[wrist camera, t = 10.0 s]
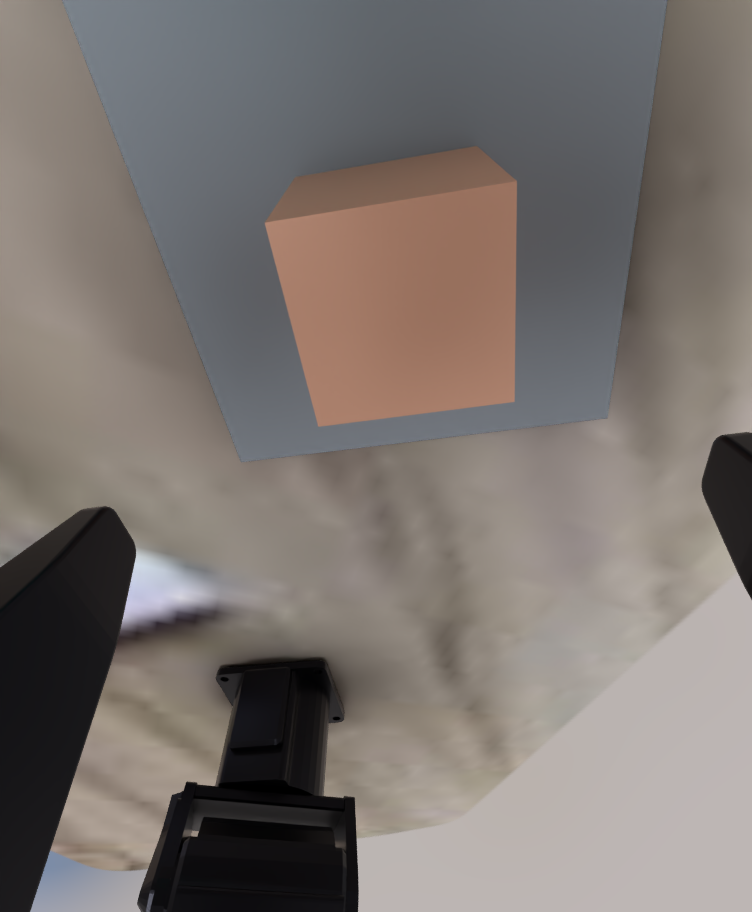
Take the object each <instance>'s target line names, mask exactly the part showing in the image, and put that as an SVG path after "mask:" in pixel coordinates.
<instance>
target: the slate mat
mask: <svg viewBox="0 0 752 912" xmlns="http://www.w3.org/2000/svg"><path fill="white" fill-rule="evenodd" d="M62 1H63V4H64V6H65V9H66V12H67V14H68V17H69V19H70V22H71V25H72V27H73V30H74V32H75V35H76V37H77V40H78V43H79V45H80V48H81V50H82V53H83V56H84V58H85V61H86V63H87V66H88V68H89V71H90V74H91V76H92V79H93V81H94V84H95V86H96V89H97V92H98V94H99V97H100V99H101V102H102V105H103V107H104V110H105V112H106V115H107V117H108V120H109V123H110V125H111V128H112V130H113V133H114V136H115V138H116V141H117V143H118V146H119V148H120V151H121V154H122V156H123V159H124V161H125V164H126V166H127V169H128V172H129V174H130V177H131V179H132V182H133V185H134V187H135V190H136V192H137V195H138V197H139V200H140V203H141V205H142V208H143V210H144V213H145V216H146V218H147V221H148V223H149V226H150V228H151V231H152V234H153V236H154V239H155V241H156V244H157V247H158V249H159V252H160V254H161V257H162V259H163V262H164V265H165V267H166V270H167V272H168V275H169V277H170V280H171V283H172V285H173V288H174V290H175V293H176V296H177V298H178V301H179V303H180V306H181V308H182V311H183V314H184V316H185V319H186V321H187V324H188V327H189V329H190V332H191V334H192V337H193V339H194V342H195V345H196V347H197V350H198V352H199V355H200V357H201V360H202V363H203V365H204V368H205V370H206V373H207V376H208V378H209V381H210V383H211V386H212V388H213V391H214V394H215V396H216V399H217V401H218V404H219V407H220V409H221V412H222V414H223V417H224V419H225V422H226V425H227V427H228V430H229V432H230V435H231V437H232V440H233V443H234V445H235V448H236V450H237V453H238V456H239V458H240V461H241V462H247V461H256V460H264V459H272V458H280V457H289V456H297V455H305V454H314V453H322V452H330V451H339V450H347V449H355V448H364V447H372V446H380V445H389V444H397V443H405V442H414V441H422V440H430V439H439V438H447V437H455V436H464V435H472V434H480V433H489V432H497V431H505V430H514V429H522V428H530V427H539V426H547V425H555V424H564V423H572V422H580V421H589V420H597V419H605V418H608V411H609V404H610V397H611V390H612V383H613V376H614V369H615V362H616V355H617V348H618V341H619V334H620V327H621V320H622V313H623V306H624V299H625V293H626V286H627V279H628V272H629V265H630V258H631V251H632V244H633V237H634V230H635V223H636V216H637V209H638V202H639V195H640V188H641V181H642V174H643V167H644V160H645V153H646V146H647V139H648V132H649V125H650V118H651V111H652V104H653V97H654V90H655V83H656V76H657V69H658V62H659V55H660V49H661V42H662V35H663V28H664V21H665V14H666V7H667V0H62ZM474 146H477V147H479V148H480V149H481V150H482V151H483V152H484V153H485V154H487V155H488V156H489V157H490V158H491V159H492V160H493V161H495V162H496V163H497V164H498V165H499V166H500V167H501V168H503V169H504V170H505V171H506V172H507V173H508V174H509V175H510V176H512V177H513V178H514V179H515V180H516V181H517V223H516V314H515V402H510V403H502V404H494V405H486V406H479V407H471V408H463V409H455V410H447V411H439V412H431V413H423V414H416V415H408V416H400V417H392V418H384V419H376V420H368V421H361V422H353V423H345V424H337V425H329V426H321V427H318V424H317V420H316V416H315V412H314V408H313V405H312V401H311V397H310V393H309V389H308V386H307V382H306V378H305V374H304V370H303V367H302V363H301V359H300V355H299V351H298V348H297V344H296V340H295V336H294V333H293V329H292V325H291V321H290V317H289V314H288V310H287V306H286V302H285V298H284V295H283V291H282V287H281V283H280V279H279V276H278V272H277V268H276V264H275V260H274V257H273V253H272V249H271V245H270V241H269V238H268V234H267V230H266V226H265V221H266V220H267V218H268V217H269V215H270V214H271V212H272V211H273V209H274V208H275V206H276V205H277V203H278V202H279V200H280V199H281V197H282V196H283V195H284V193H285V192H286V190H287V189H288V187H289V186H290V184H291V183H292V181H293V180H294V178H295V177H299V176H305V175H311V174H317V173H322V172H328V171H334V170H340V169H346V168H352V167H357V166H363V165H369V164H375V163H381V162H386V161H392V160H398V159H404V158H410V157H416V156H421V155H427V154H433V153H439V152H445V151H450V150H456V149H462V148H468V147H474Z"/></svg>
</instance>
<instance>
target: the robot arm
mask: <svg viewBox="0 0 752 912" xmlns="http://www.w3.org/2000/svg"><path fill="white" fill-rule="evenodd" d="M702 492H703V495H704V498H705V500H706V503H707V505H708V507H709V509H710V512H711V514H712V516H713V518H714V521H715V523H716V525H717V527H718V530H719V532H720V534H721V536H722V539H723V541H724V543H725V545H726V547H727V550H728V552H729V554H730V556H731V559H732V561H733V563H734V565H735V568H736V570H737V572H738V574H739V576H740V578H741V580H742V582H743V584H744V587H745V588H746V590H747V592H748V594H749V595H750V597H751V599H752V433H749V432H744V433H735V434H727V435H721V436H719V437H718V438H716V440H715V441H714V442H713V445H712V448H711V451H710V454H709V458H708V461H707V464H706V468H705V471H704V475H703V478H702ZM135 558H136V548H135V544H134V541H133V539H132V538H131V536H130V534H129V533H128V531H127V529H126V528H125V526H124V525H123V523H122V521H121V520H120V518H119V516H118V515H117V513H116V512H115V511H114V510H113V509H112V508H110V507H106V506H103V507H94V508H86V509H83V510H80V511H79V512H77V513H76V514H75V515H73V516H72V517H70V518H69V519H68V520H66V521H65V522H63V523H62V524H61V525H59V526H58V527H56V528H55V529H54V530H52V531H51V532H49V533H48V534H47V535H45V536H44V537H42V538H41V539H40V540H38V541H37V542H35V543H34V544H33V545H31V546H30V547H28V548H27V549H26V550H24V551H23V552H21V553H20V554H19V555H17V556H16V557H14V558H13V559H12V560H10V561H9V562H7V563H6V564H5V565H3V566H2V567H0V912H30V910H31V907H32V904H33V901H34V898H35V895H36V892H37V889H38V886H39V883H40V880H41V877H42V874H43V871H44V867H45V864H46V861H47V858H48V855H49V852H50V849H51V846H52V843H53V840H54V837H55V834H56V831H57V828H58V824H59V821H60V818H61V815H62V812H63V809H64V806H65V803H66V800H67V797H68V794H69V791H70V788H71V785H72V782H73V778H74V775H75V772H76V769H77V766H78V763H79V760H80V757H81V754H82V751H83V748H84V745H85V742H86V739H87V736H88V732H89V729H90V726H91V723H92V720H93V717H94V714H95V711H96V708H97V705H98V702H99V699H100V696H101V693H102V690H103V686H104V683H105V680H106V677H107V674H108V671H109V668H110V665H111V662H112V659H113V655H114V652H115V649H116V645H117V641H118V637H119V633H120V629H121V624H122V619H123V615H124V610H125V605H126V601H127V596H128V591H129V586H130V582H131V577H132V572H133V568H134V563H135ZM216 680H217V682H218V684H219V685H220V687H221V688H222V690H223V692H224V693H225V695H226V696H227V698H228V700H229V701H230V703H231V704H232V706H233V707H232V712H231V717H230V721H229V726H228V730H227V735H226V739H225V744H224V748H223V753H222V757H221V762H220V767H219V771H218V776H217V780H216V785H215V786H206V785H197V783H196V782H186V785H185V788H184V791H182V792H181V793H177V794H174V795H172V797H171V801H170V804H169V808H168V812H167V815H166V819H165V822H164V826H163V829H162V832H161V835H160V838H159V841H158V844H157V847H156V849H155V852H154V855H153V857H152V860H151V863H150V866H149V868H148V871H147V874H146V877H145V879H144V882H143V885H142V888H141V891H140V894H139V898H138V902H137V905H138V907H139V909H140V910H141V912H358V863H357V841H356V817H355V798H354V797H348V796H344V798H337V797H326V796H323V795H324V781H325V767H326V752H327V738H328V724H329V723H336V722H342V721H343V720H344V709H343V706H342V704H341V701H340V698H339V696H338V693H337V690H336V688H335V685H334V682H333V679H332V677H331V674H330V671H329V669H328V666H327V664H326V663H325V662H324V661H320V660H315V661H303V662H291V663H280V664H268V665H256V666H244V667H232V668H222V669H219V670H218V672H217V676H216ZM192 831H199V833H198V837H193V836H191V833H192Z"/></svg>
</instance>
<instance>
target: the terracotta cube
mask: <svg viewBox="0 0 752 912" xmlns="http://www.w3.org/2000/svg"><path fill="white" fill-rule="evenodd" d="M516 223H517V181H516V180H515V179H514V178H513V177H512V176H510V175H509V174H508V173H507V172H506V171H505V170H504V169H503V168H501V167H500V166H499V165H498V164H497V163H496V162H495V161H493V160H492V159H491V158H490V157H489V156H488V155H487V154H485V153H484V152H483V151H482V150H481V149H480V148H479V147H477V146H474V147H468V148H462V149H456V150H450V151H445V152H439V153H433V154H427V155H421V156H416V157H410V158H404V159H398V160H392V161H386V162H381V163H375V164H369V165H363V166H357V167H352V168H346V169H340V170H334V171H328V172H322V173H317V174H311V175H305V176H299V177H295V178H294V180H293V181H292V183H291V184H290V186H289V187H288V189H287V190H286V192H285V193H284V195H283V196H282V197H281V199H280V200H279V202H278V203H277V205H276V206H275V208H274V209H273V211H272V212H271V214H270V215H269V217H268V218H267V220H266V221H265V226H266V230H267V234H268V238H269V241H270V245H271V249H272V253H273V257H274V260H275V264H276V268H277V272H278V276H279V279H280V283H281V287H282V291H283V295H284V298H285V302H286V306H287V310H288V314H289V317H290V321H291V325H292V329H293V333H294V336H295V340H296V344H297V348H298V351H299V355H300V359H301V363H302V367H303V370H304V374H305V378H306V382H307V386H308V389H309V393H310V397H311V401H312V405H313V408H314V412H315V416H316V420H317V424H318V427H321V426H329V425H337V424H345V423H353V422H361V421H368V420H376V419H384V418H392V417H400V416H408V415H416V414H423V413H431V412H439V411H447V410H455V409H463V408H471V407H479V406H486V405H494V404H502V403H510V402H515V314H516Z"/></svg>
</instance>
